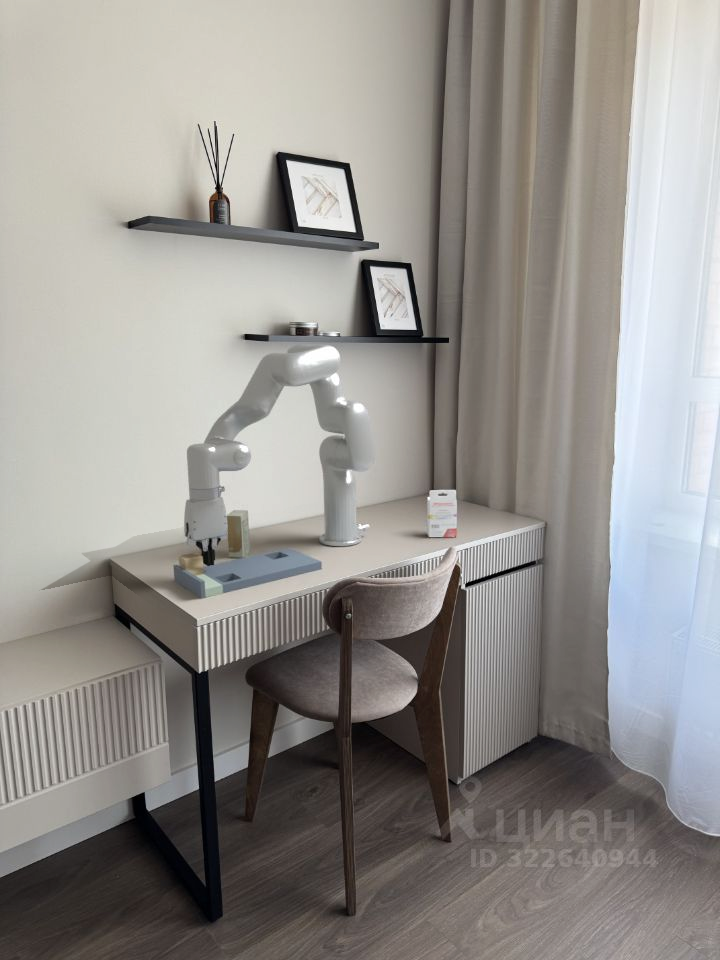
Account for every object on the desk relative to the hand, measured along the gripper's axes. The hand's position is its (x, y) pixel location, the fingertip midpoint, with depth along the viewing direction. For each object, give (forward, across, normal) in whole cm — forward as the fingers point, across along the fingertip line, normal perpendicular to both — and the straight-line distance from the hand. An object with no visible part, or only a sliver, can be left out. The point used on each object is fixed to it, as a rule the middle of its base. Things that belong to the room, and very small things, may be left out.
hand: (208, 564), depth 181 cm
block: (+2, +4, -1) cm, 5 cm away
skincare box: (+4, -15, -13) cm, 20 cm away
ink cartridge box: (+4, -72, +9) cm, 73 cm away
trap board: (+4, -9, +4) cm, 11 cm away
